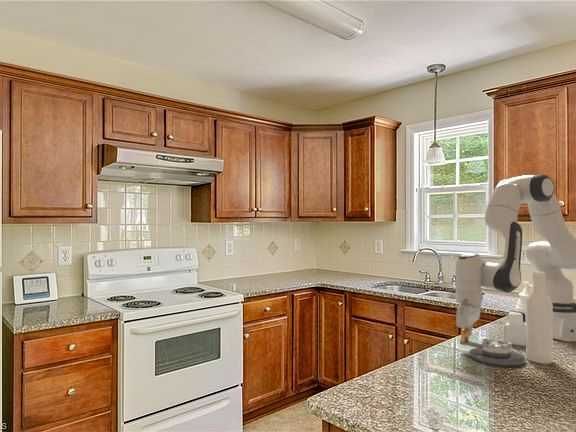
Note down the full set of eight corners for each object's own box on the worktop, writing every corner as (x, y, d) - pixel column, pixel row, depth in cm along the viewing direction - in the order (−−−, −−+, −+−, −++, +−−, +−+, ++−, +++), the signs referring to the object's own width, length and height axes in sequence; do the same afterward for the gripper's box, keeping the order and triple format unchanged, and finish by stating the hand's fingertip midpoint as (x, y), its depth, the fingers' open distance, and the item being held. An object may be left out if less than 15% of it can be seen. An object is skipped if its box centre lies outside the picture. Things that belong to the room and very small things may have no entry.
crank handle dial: (515, 353, 148) (515, 335, 148) (505, 359, 141) (505, 340, 141) (466, 343, 160) (466, 326, 160) (455, 348, 153) (455, 331, 154)
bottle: (522, 359, 147) (521, 271, 147) (531, 355, 152) (531, 270, 152) (548, 365, 141) (547, 274, 141) (556, 360, 146) (556, 272, 146)
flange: (515, 353, 154) (515, 348, 154) (532, 369, 138) (532, 363, 138) (465, 350, 158) (465, 345, 158) (475, 365, 141) (475, 360, 141)
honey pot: (519, 321, 204) (519, 283, 205) (512, 315, 217) (512, 279, 217) (549, 322, 201) (549, 284, 202) (540, 316, 214) (540, 280, 214)
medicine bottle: (508, 339, 173) (508, 309, 173) (528, 342, 168) (528, 311, 168) (504, 343, 167) (504, 312, 167) (524, 346, 163) (524, 314, 163)
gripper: (470, 303, 148) (470, 343, 147) (483, 294, 164) (483, 331, 164) (451, 300, 151) (451, 340, 151) (466, 293, 168) (466, 328, 168)
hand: (468, 335), depth 158 cm, fingers closed
